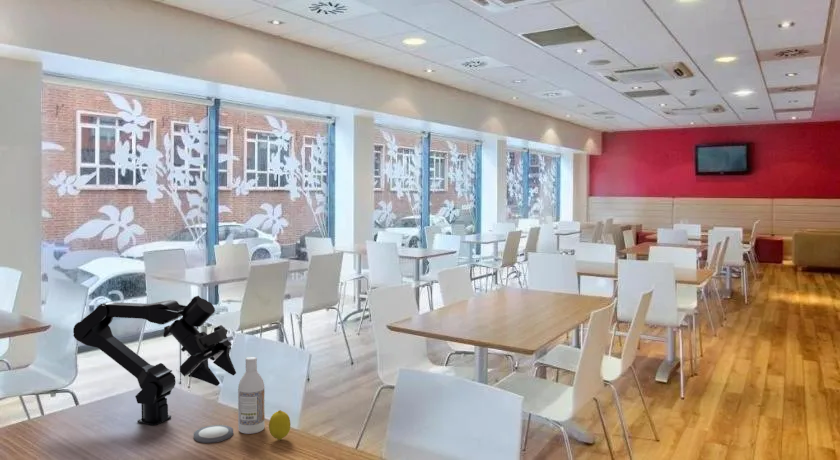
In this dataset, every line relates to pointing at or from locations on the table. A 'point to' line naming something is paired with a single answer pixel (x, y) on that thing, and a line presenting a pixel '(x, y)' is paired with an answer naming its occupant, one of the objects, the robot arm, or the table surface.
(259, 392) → the bath foam
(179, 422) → the table surface
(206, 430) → the dock pad
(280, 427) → the lemon
